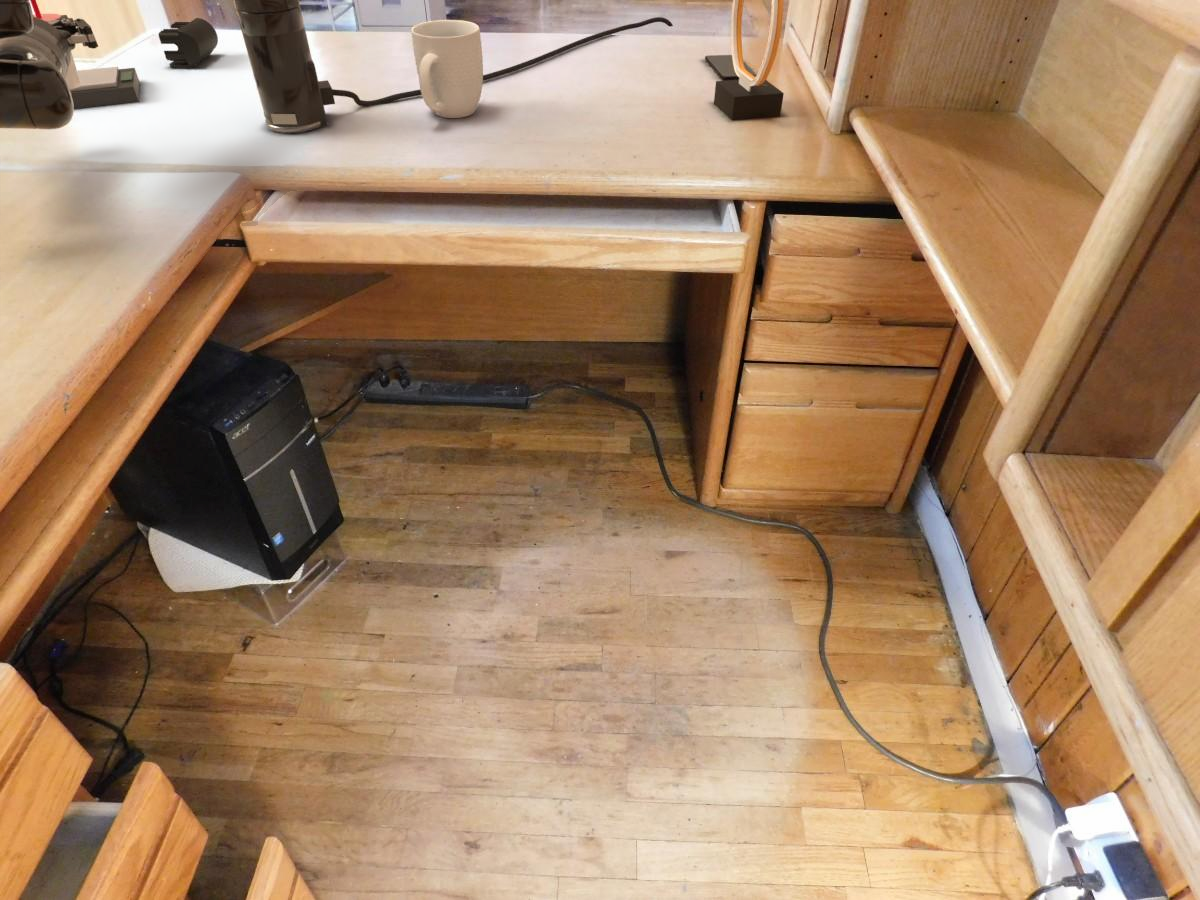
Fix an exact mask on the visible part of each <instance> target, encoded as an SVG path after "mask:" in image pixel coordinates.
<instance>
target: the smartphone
mask: <svg viewBox="0 0 1200 900" xmlns="http://www.w3.org/2000/svg"><path fill="white" fill-rule="evenodd" d="M704 60H705V61H706V63H708V65H709V66H710V67H711V68H712V70H713V71H714V72H715V73H716V74H717V76H718V77H719V78H720V80H721V81H726V80H739V77H738V76H737V75H736V73H735V70H734V66H733V59H732V54H717V55H716V54H715V55H714V54H713V55H712V54H711V55H705V56H704ZM743 62H744V67H745V69H746V70H747V71H748V72H749V73H750V74H752V75H753V76H754V77H756V75H757V73H755V72H754V70H753V69H752V68H751V67H750V66H749V65H748V64H747V63H746V62H745V61H744V60H743Z"/></svg>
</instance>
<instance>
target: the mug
mask: <svg viewBox="0 0 1200 900" xmlns="http://www.w3.org/2000/svg"><path fill="white" fill-rule="evenodd" d="M410 29H411V31H410V32H411V40H412V47H413V55H414V61H415V66H416V72H417V76H418V83H419V84H418V85H419V90H421V94H422V95H421V97H422V100H423V102H424V103H425V105H426V106H427V107H428V108H429V109H431V110H432V111H433V112H434V113H435V114H436V115H437V116H439V117H441V118H445V119H462V118H467V117H469V116H472V115H473V114H474V113H475V112H476V109H477V107H478V105H479V103H480V99H481V96H482V92H483V91H482V90H483V85H484V81H483V75H484V64H483V63H484V59H483V58H484V57H483V47H482V40H481V39H482V38H481V29H480V26H479V25H478V24H476V23H474V22H473V21H467V20H463V19H462V20H460V19H437V20H430V21H429V20H428V21H424V22H420V23H418V24H415V25H414V26H412V27H411V28H410Z"/></svg>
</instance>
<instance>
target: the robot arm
mask: <svg viewBox="0 0 1200 900" xmlns="http://www.w3.org/2000/svg"><path fill="white" fill-rule="evenodd" d="M232 1H233V5H234V8H235V12H236V16H237V19H238V24H239V26H240V30H241V34H242V38H243V41H244V45H245V48H246V53H247V56H248V59H249V63H250V67H251V70H252V74H253V77H254V82H255V85H256V90H257V92H258V96H259V100H260V103H261V107H262V110H263V115H264V118H265V124H266V127H267V129H268V130H270V131H272V132H277V133H282V134H283V133H284V134H292V133H293V134H296V133H304V132H309V131H312V130H315V129H318V128H321V127H326V126H328V125H329V124H328V119H327V118H328V117H327V115H326V109H325V106H330V105H336V101H335V96H336V97H345V98H349V99H352V100H353V101H354V103H355V104H356V105H357V106H360V107H365V108H366V107H372V106H378V105H385V104H387V103H391V102H394V101H398V100H402V99H408V98H413V97H418V96H422V94H421V90H420V89H415V90H410V91H404V92H399V93H394V94H391V95H388V96H385V97H381V98H378V99H377V98H376V99H374V100H373V99H372V100H364V99H363V100H362V99H360V97H359V95H358V94H357V93H355V92H353V91H350V90H345V89H334V88H333V87H332V86H331V83H330V81H329V80H319V78H318V74H317V70H316V65H315V62H314V60H313V58H312V54H311V48H310V45H309V39H308V35H307V30H306V26H305V23H304V18H303V13H302V9H301V4H300V0H232ZM33 15H34V14H33V8H32V4H31V1H30V0H0V129H11V130H12V129H15V130H16V129H17V130H19V129H21V130H57V129H61V128H64V127H66V126H67V125H68V124H69V123H70V122H71V121H72V120H73V116H74V110H75V109H74V105H73V99H72V95H71V91H70V89H69V86H68V84H67V82H66V80H65V78H66V74H67V71H68V67H69V64H70V58H71V53H72V51H73V50H75V48H76V45H78V44H82V46H83V48H84V47H85V48H86V47H88V48H89V49H92V50H93V49H97V48H98V47H99V45H98V42H97V39H96V37H95V34H94V31H93V29H92V26H91V25H90V24H89V23H88V22H86V20H85V19H84V18H75V19H74V18H72V17H68V15H67V14H60V15H61V17H60V18H61V19H60V20H50V21H48V22H46V21H44V20H42V19H39V18H36V17H33ZM654 23H663V24H664V25H666V26H668V27H673V26H674V25H673V23H672V22H671V21H670V20H669V19H668V18H666V17H662V16H658V17H656V16H655V17H652V18H648V19H645V20H641V21H639V22H635V23H630V24H624V25H620V26H618V27H617V26H616V27H614V28H611V29H607V30H604V31H601V32H598V33H594V34H591V35H589V36H586V37H584V38H582V39H578V40H576V41H573V42H571V43H569V44H566V45H563V46H561V47H559V48H556V49H554V50H552V51H551V50H550V51H549V52H547V53H544V54H541V55H539V56H537V57H534V58H531V59H529V60H526V61H523V62H521V63H517V64H516V65H512V66H510V67H506V68H503V69H500V70H496V71H494V72H489V73H485V74H483V82H484V81H488V80H491V79H495V78H498V77H502V76H505V75H507V74H510V73H514V72H516V71H519V70H521V69H525V68H528V67H529V66H532V65H534V64H538V63H540V62H542V61H545V60H547V59H549V58H550V59H551V58H552V57H554V56H557V55H560V54H562V53H565V52H566V51H569V50H571V49H573V48H576V47H579V46H581V45H584V44H586V43H589V42H592V41H594V40H598V39H601V38H604V37H608V36H610V35H613V34H617V33H620V32H623V31H627V30H633V29H638V28H641V27H644V26H647V25H650V24H654ZM70 51H71V53H70Z"/></svg>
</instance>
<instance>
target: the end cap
mask: <svg viewBox="0 0 1200 900" xmlns="http://www.w3.org/2000/svg"><path fill="white" fill-rule="evenodd" d="M158 38H159V41H160V44H161V45H175V46H176V47H177V50H164V51H163V53H164V56H165V59H166V60H167V61H170V63H169V68H171V69H191V68H192V69H193V68H194V67H196V66H197V65H198V64H200V63H201V62H202V61H203V60H205V59H206V58H207V57H209V56H210V55H211V54H212V53H213V52H214V50H215V49H216V48H217V46H218V43H219V42H218V41H219V37H218V34H217V31H216V28H214V26H213V25H212V24H211V23H210V22H209V21H207V20H205V19H203V18H201V17H195V18H194V19H193V20H191V21H175V22H174V23H171V25H170V28H163V30H160V32H158Z"/></svg>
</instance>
